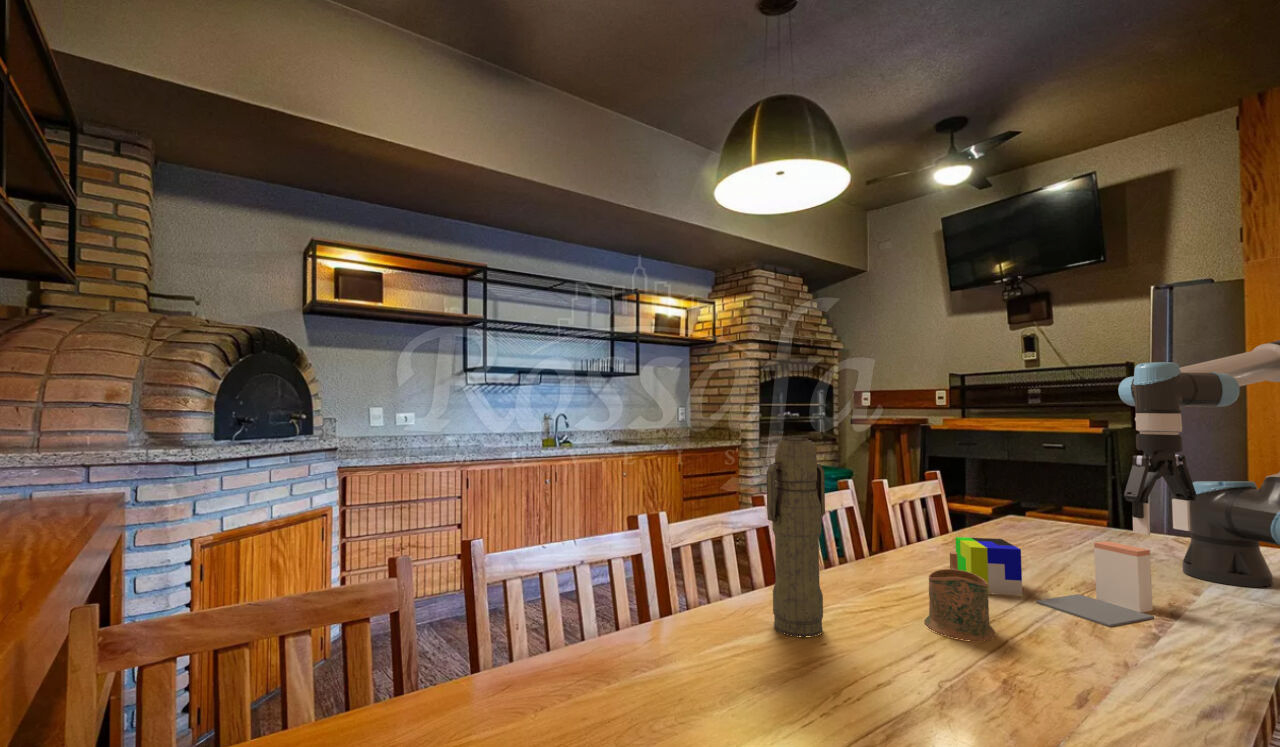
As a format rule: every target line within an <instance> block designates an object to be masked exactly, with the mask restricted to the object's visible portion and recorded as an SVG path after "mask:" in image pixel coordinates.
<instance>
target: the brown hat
mask: <svg viewBox="0 0 1280 747" xmlns="http://www.w3.org/2000/svg"><path fill="white" fill-rule="evenodd" d="M928 597H929V601H928V602H929V605H928V606H929V608H928V609H929V612H928V615H927V617H926V618H925V619H924V620H923V625H924V624H925V625H926V626H927V627H928V628H929V629H931V630H933V631H935V632H937V633H939V634H942V635H946V636H949V637H953V638H958V639H963V640H970V641H984V640H989V641H991V640H990V639H992V638H994V637H995V638H996V636H997V634H996V630H995V629H994V628H993V627H992V626H991V624H990V608H989V594H988V583H987V582H986V581H985V580H983V579H982V578H981V577H979V576H977V575H975V574H973V573H970V572H966V571H962V570H958V559H957V552H956V551H954V550H953V551H952V550H951V551H949V568H945V569H943V568H942V569H937V570H935V571H933V572H931V573H930V574H929V575H928ZM925 625H924V626H925ZM929 629H928V630H929ZM995 635H996V636H995ZM995 638H994V639H995ZM992 640H993V639H992ZM970 641H969V642H970ZM984 642H985V641H984Z"/></svg>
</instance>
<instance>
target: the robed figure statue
mask: <svg viewBox="0 0 1280 747" xmlns="http://www.w3.org/2000/svg"><path fill="white" fill-rule="evenodd" d="M817 462H818V457H817V451H816V449H815V446H814V442H813V441H812V440H809V438H806V437H783V438H782V439H780V440H778V443H777V444H776V448H775V452H774V462H773V463H771V464H769V467H768V468H767V470H766V512H767V520H768V521H771V522H772V523H771V524H772V532H773V534H774V548H775V549H774V551H775V552H774V554H775V555H774V558H775V561H774V563H775V565H774V566H775V582H774V585H773V589H772V612H773V615H774V616H773V618H774V622H773V627H775V628H776V629H777V630H778V631H780V632H782V633H785V634H788V635H792V636H798V637H797V638H799V636H801V637H806V636H815V635H818V634H820V633H821V632H822V633H823V618H824V597H823V596H824V595H823V592H822V589H821V586H820V540H819V539H820V537H821V534H822V518H823V517H824V515H826V493H825V492H826V489H825V488H826V487H825V485H826V483H825V469H824V467H823V466H822V464H820V463H817ZM775 628H774V629H775ZM776 629H775V630H776ZM777 630H776V631H777ZM778 631H777V632H778ZM780 632H779V633H780ZM782 633H781V634H782ZM822 633H821V634H822ZM821 634H820V635H821ZM788 635H787V636H788ZM792 636H791V637H792ZM818 636H819V635H818ZM815 637H816V636H815Z"/></svg>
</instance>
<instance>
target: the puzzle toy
mask: <svg viewBox="0 0 1280 747" xmlns="http://www.w3.org/2000/svg"><path fill="white" fill-rule="evenodd" d="M955 552H957V559H958V570H962V571H966V572H970V573H973V574H975V575H977V576H979V577H981V578H982V579H983V580H985V581H986V582H987V583H988V593H994V594H993V595H998V594H1009V595H1008V596H1015V595H1023V571H1022V570H1023V569H1022V568H1023V567H1022V549H1021V548H1019V547H1017V546H1015V545H1013V544H1011V543H1010V542H1008V541H1006V540H1005V539H1003V538H987V537H986V538H984V537H963V536H959V537H958V536H955Z"/></svg>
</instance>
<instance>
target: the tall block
mask: <svg viewBox="0 0 1280 747" xmlns="http://www.w3.org/2000/svg"><path fill="white" fill-rule="evenodd" d="M1093 545H1094V547H1093V548H1094V549H1093V551H1094V569H1095V570H1094V572H1095V594H1096V596H1095V597H1096V598H1095V599H1097V600H1100V601H1104V602H1107V603H1111V604H1114V605H1118V606H1121V607H1124V608H1128V609H1131V610H1135V611H1138V612H1141V613H1146V612H1152V611H1153V610H1154V607H1153V606H1154V605H1153V590H1152V589H1153V588H1152V587H1153V586H1152V566H1151V549H1146V548H1143V547H1142V548H1141V547H1138V546H1137V547H1136V546H1131V545H1128V544H1124V543H1123V544H1122V543H1117V542H1112V541H1108V540H1106V541H1097V542H1094V543H1093Z"/></svg>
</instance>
